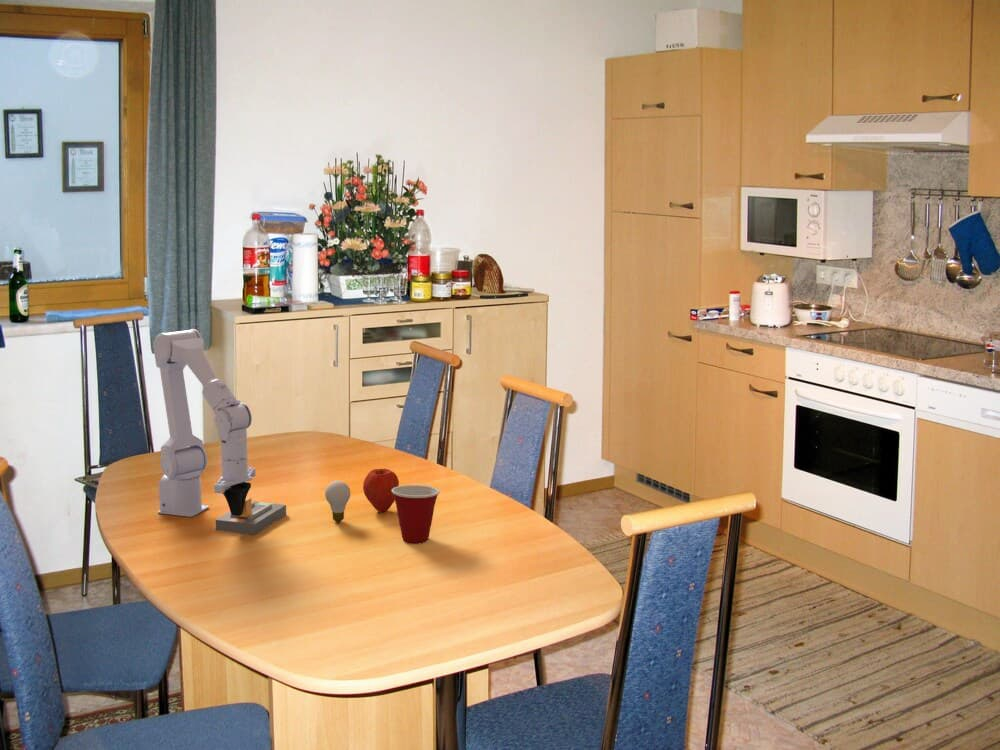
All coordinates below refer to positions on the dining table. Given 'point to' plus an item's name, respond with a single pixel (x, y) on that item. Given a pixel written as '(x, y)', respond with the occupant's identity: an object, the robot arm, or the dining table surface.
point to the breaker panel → (252, 518)
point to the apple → (380, 488)
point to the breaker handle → (247, 508)
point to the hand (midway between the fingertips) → (236, 514)
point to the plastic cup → (415, 511)
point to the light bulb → (337, 498)
